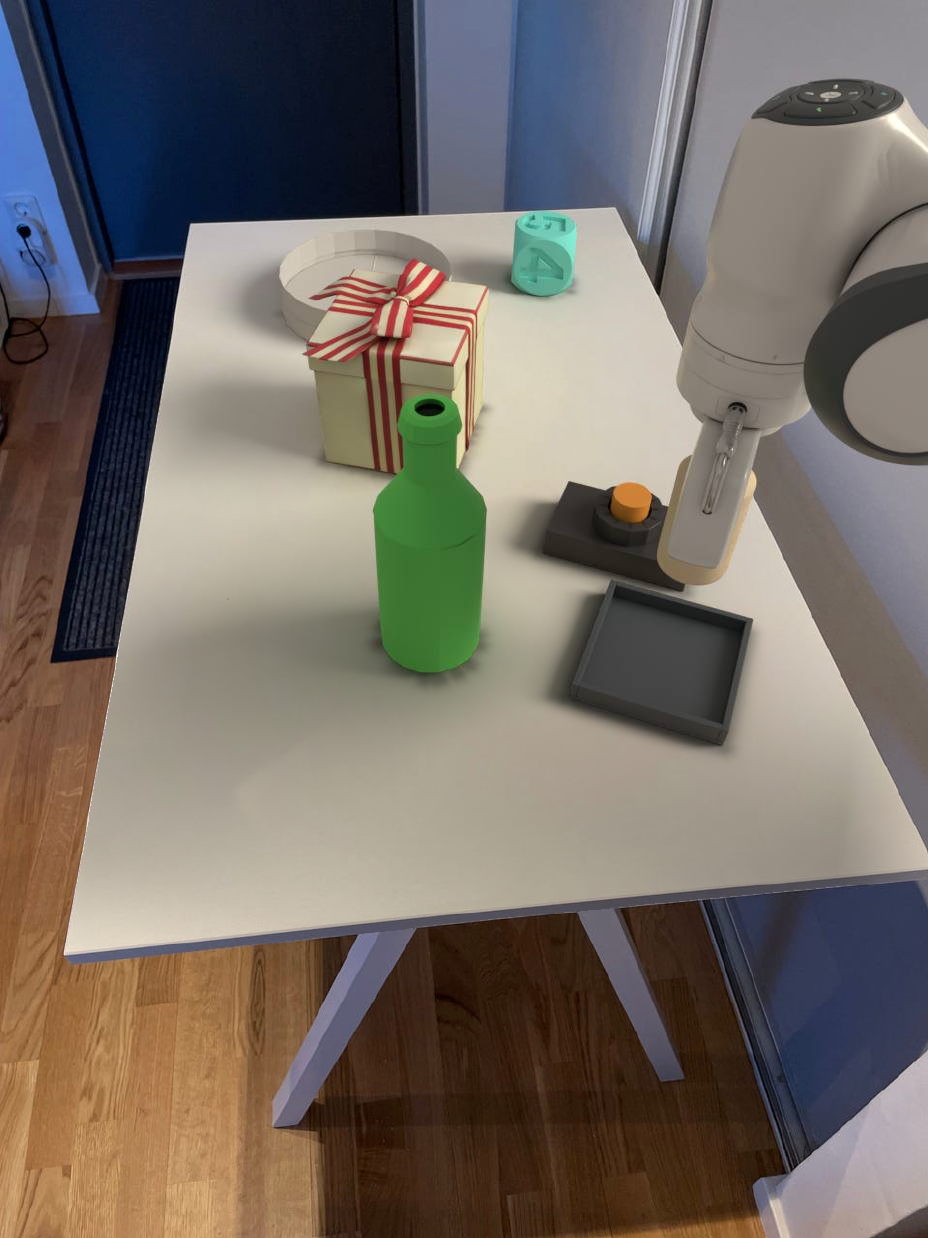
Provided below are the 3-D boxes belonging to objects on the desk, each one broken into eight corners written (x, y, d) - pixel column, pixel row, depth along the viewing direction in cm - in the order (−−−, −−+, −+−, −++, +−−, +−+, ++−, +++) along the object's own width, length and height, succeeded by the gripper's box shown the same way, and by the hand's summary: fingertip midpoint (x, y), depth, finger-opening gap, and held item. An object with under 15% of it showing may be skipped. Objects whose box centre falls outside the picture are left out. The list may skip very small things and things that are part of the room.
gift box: (330, 383, 108) (316, 241, 95) (485, 400, 107) (492, 258, 94) (290, 474, 97) (268, 328, 84) (463, 495, 96) (467, 349, 83)
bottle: (459, 595, 86) (466, 362, 68) (494, 662, 81) (513, 430, 62) (368, 618, 84) (350, 385, 65) (399, 690, 79) (388, 458, 60)
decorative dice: (570, 298, 123) (577, 240, 117) (510, 294, 123) (514, 236, 117) (570, 268, 128) (576, 211, 122) (512, 265, 128) (516, 208, 122)
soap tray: (748, 633, 84) (753, 618, 82) (722, 746, 76) (728, 732, 74) (608, 593, 87) (611, 578, 85) (568, 698, 79) (571, 684, 77)
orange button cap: (651, 504, 89) (655, 487, 87) (643, 527, 86) (646, 511, 85) (615, 494, 89) (618, 478, 88) (605, 517, 87) (609, 501, 86)
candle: (641, 558, 71) (666, 456, 64) (685, 526, 74) (714, 425, 67) (697, 597, 69) (730, 496, 61) (741, 563, 71) (778, 461, 64)
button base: (699, 537, 92) (710, 500, 88) (683, 591, 87) (694, 554, 83) (565, 502, 95) (570, 464, 92) (542, 553, 90) (547, 514, 86)
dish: (297, 260, 127) (293, 225, 124) (456, 267, 127) (457, 232, 124) (268, 348, 113) (262, 311, 109) (447, 357, 113) (448, 320, 109)
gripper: (778, 475, 51) (720, 636, 62) (818, 300, 64) (764, 457, 74) (666, 448, 53) (628, 610, 63) (727, 282, 65) (687, 439, 76)
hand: (702, 526), depth 69 cm, fingers closed on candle, 5 cm apart
